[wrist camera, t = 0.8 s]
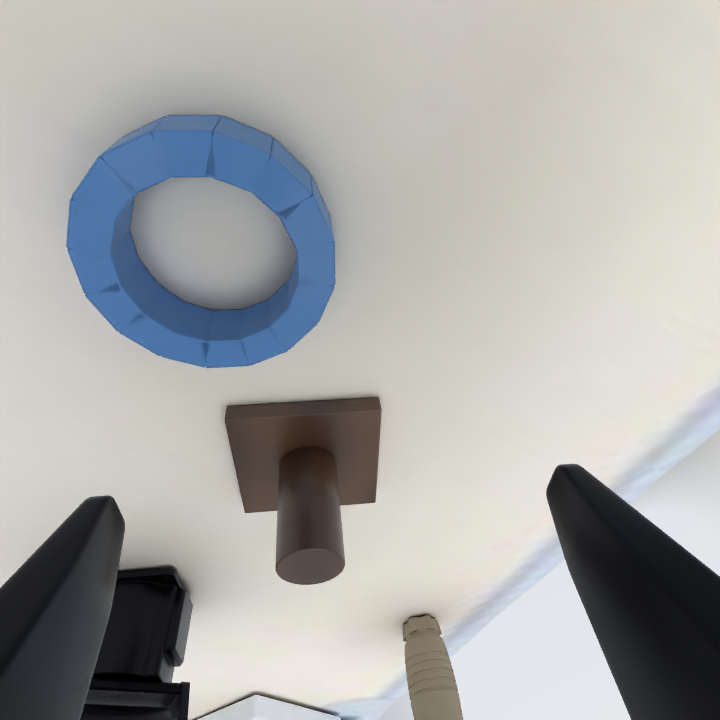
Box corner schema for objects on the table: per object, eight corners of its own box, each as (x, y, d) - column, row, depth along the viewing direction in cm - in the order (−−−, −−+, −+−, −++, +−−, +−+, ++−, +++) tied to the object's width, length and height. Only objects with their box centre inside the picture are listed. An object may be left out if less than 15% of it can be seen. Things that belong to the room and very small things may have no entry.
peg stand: (246, 499, 29) (234, 616, 24) (226, 406, 24) (206, 525, 19) (373, 489, 30) (390, 600, 24) (378, 396, 25) (402, 509, 20)
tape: (130, 339, 21) (114, 373, 19) (53, 114, 16) (19, 130, 14) (332, 330, 22) (336, 361, 20) (329, 114, 16) (333, 130, 15)
